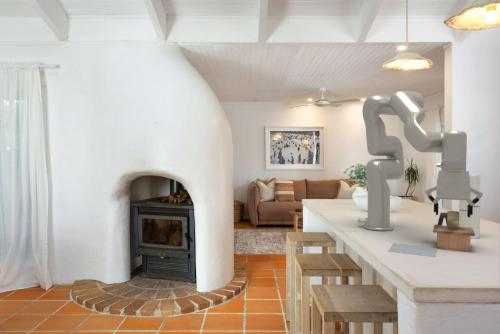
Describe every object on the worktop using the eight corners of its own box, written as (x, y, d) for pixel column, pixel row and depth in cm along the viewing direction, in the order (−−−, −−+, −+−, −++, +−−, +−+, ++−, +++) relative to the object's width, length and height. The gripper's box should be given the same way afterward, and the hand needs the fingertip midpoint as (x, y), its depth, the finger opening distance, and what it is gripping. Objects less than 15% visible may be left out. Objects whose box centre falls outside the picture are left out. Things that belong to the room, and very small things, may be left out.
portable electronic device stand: (454, 229, 158) (454, 210, 158) (464, 232, 150) (464, 213, 150) (434, 229, 158) (434, 210, 158) (443, 232, 151) (444, 213, 150)
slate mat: (387, 252, 116) (387, 251, 116) (393, 244, 128) (393, 243, 128) (435, 258, 109) (435, 257, 109) (436, 249, 121) (436, 247, 121)
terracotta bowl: (436, 249, 121) (436, 232, 121) (437, 243, 129) (437, 227, 129) (470, 253, 116) (471, 235, 116) (469, 247, 124) (469, 230, 124)
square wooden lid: (433, 232, 120) (433, 212, 120) (434, 226, 131) (434, 208, 131) (474, 236, 114) (474, 215, 114) (472, 229, 125) (472, 210, 125)
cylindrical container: (480, 239, 137) (480, 175, 137) (458, 237, 141) (459, 175, 141) (479, 236, 143) (480, 174, 143) (459, 234, 147) (459, 174, 147)
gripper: (425, 166, 123) (424, 215, 124) (484, 167, 115) (483, 219, 115) (426, 166, 130) (425, 212, 130) (482, 167, 121) (481, 216, 122)
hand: (452, 215), depth 123 cm, fingers open, 9 cm apart
